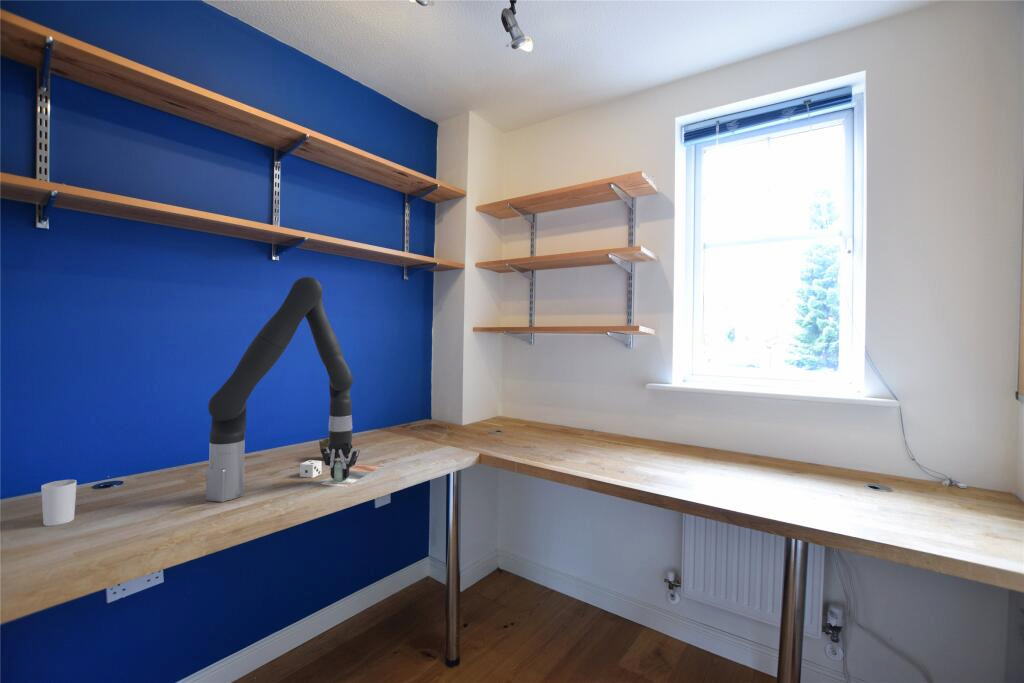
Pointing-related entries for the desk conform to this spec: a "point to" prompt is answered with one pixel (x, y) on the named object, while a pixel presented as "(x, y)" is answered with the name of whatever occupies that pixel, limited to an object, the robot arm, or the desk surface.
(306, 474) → the die
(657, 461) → the desk surface
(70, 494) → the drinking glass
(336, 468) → the pawn
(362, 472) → the game strip
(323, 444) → the cup
